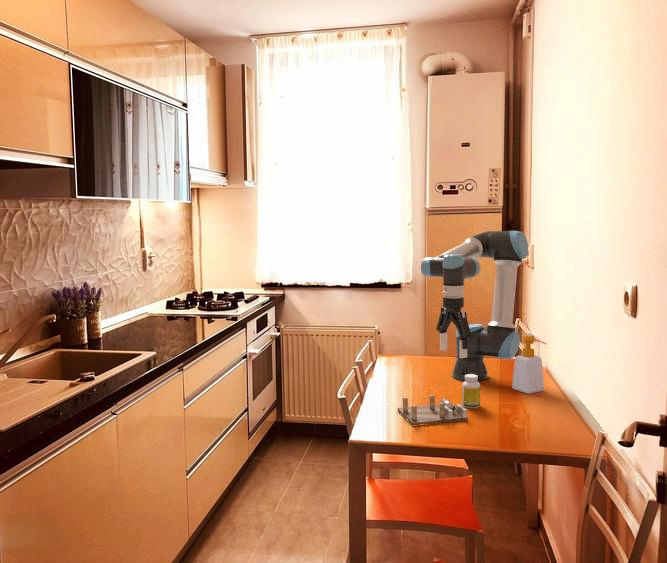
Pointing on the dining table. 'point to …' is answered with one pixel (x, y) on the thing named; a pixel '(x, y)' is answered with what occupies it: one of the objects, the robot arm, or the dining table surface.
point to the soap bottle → (528, 369)
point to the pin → (448, 404)
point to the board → (432, 413)
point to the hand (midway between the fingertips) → (453, 353)
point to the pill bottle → (471, 391)
